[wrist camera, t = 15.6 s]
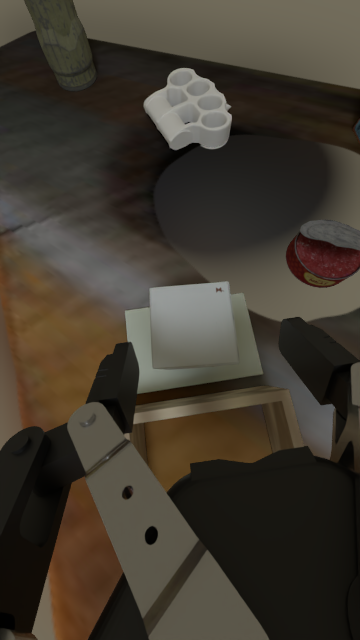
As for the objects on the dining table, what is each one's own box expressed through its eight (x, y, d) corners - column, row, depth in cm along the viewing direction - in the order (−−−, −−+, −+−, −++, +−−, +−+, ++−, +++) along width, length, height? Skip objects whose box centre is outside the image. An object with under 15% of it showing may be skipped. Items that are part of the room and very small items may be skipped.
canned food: (272, 274, 38) (270, 226, 30) (317, 241, 38) (326, 185, 30) (330, 311, 30) (346, 259, 23) (385, 270, 30) (420, 205, 23)
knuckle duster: (139, 107, 43) (200, 81, 44) (179, 166, 39) (246, 136, 40) (135, 85, 40) (201, 58, 41) (178, 147, 36) (251, 115, 37)
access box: (264, 385, 28) (288, 389, 22) (289, 486, 26) (325, 527, 19) (134, 405, 28) (118, 416, 22) (143, 509, 25) (128, 559, 19)
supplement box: (163, 319, 31) (147, 284, 18) (213, 316, 31) (231, 278, 18) (165, 371, 29) (149, 369, 17) (219, 367, 29) (243, 364, 16)
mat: (242, 294, 32) (243, 292, 31) (261, 374, 29) (263, 374, 28) (126, 312, 32) (125, 310, 31) (133, 394, 29) (132, 394, 28)
